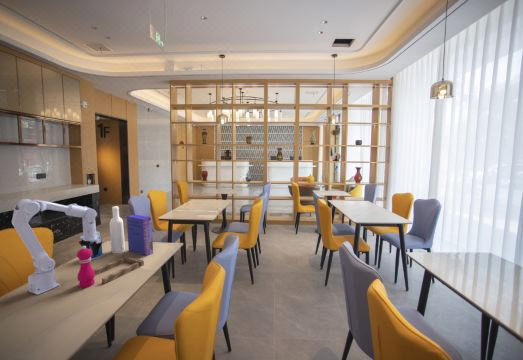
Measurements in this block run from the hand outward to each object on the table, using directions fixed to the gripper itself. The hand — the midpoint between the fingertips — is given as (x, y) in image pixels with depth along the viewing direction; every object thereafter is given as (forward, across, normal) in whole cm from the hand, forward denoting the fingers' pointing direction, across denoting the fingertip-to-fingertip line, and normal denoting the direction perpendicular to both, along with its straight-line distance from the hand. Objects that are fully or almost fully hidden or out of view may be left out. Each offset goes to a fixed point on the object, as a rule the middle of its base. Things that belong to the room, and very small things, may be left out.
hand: (91, 253), depth 138 cm
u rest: (+10, -12, -5) cm, 16 cm away
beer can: (+10, +17, -12) cm, 24 cm away
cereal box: (+10, -2, -30) cm, 32 cm away
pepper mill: (+10, -11, +10) cm, 18 cm away
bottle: (+10, +13, -25) cm, 30 cm away
